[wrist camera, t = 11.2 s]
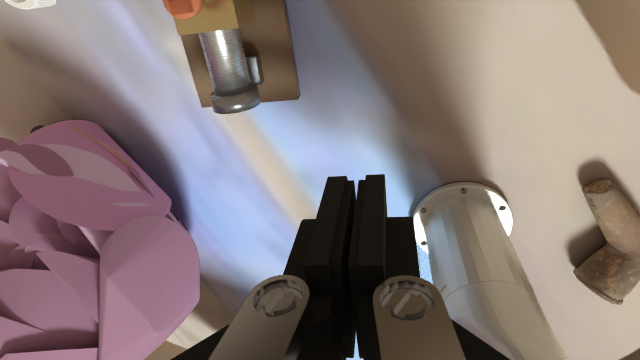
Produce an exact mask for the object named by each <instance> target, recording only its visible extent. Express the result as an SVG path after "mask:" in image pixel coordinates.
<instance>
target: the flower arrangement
mask: <svg viewBox="0 0 640 360" xmlns="http://www.w3.org/2000/svg"><path fill="white" fill-rule="evenodd" d="M171 204H172V201H171V199H170V198H169V197H168V195H167V194H166V193H165V192H164V191H163V190H162V189H161V188H160V187H159V186H158V185H157V184H156V183H155V182H154V181H153V180H152V179H151V178H150V177H149V176H148V175H147V174H146V173H145V172H144V171H143V170H142V169H141V168H140V167H139V166H138V165H137V164H136V163H135V162H134V161H133V160H132V159H131V158H130V157H129V156H128V155H127V154H126V153H125V152H124V151H123V149H122V148H121V147H120V146H119V145H118V144H117V143H116V142H115V141H114V140H113V139H112V138H111V137H110V136H109V135H108V134H107V133H106V132H105V131H104V130H103V129H102V128H101V127H100V126H99V125H98V124H97V123H95V122H91V121H87V120H67V121H61V122H57V123H53V124H50V125H47V126H36V127H34V128H33V129H32V130H31V134H29V135H28V136H26V137H25V138H24V139H23V140H21V141H20V143H18V144H16V143H15V142H13V141H11V140H9V139H6V138H1V137H0V360H144V359H145V358H146V357H147V356H148V355H149V354H150V353H152V352H153V351H154V350H155V349H156V348H157V347H158V346H160V345H161V344H162V343H163V342H164V341H165V340H166V339H167V338H168V337H169V336H170V335H171V334H172V333H173V332H174V331H175V330H176V329H177V328H178V326H179V325H180V324H181V323H182V322H183V321H184V320H185V319H186V318H187V317H188V315H189V314H190V313H191V312H192V310H193V309H194V308H195V306H196V305H197V303H198V302H199V299H200V261H199V255H198V251H197V248H196V245H195V243H194V241H193V239H192V237H191V235H190V234H189V233H188V232H187V231H186V230H185V227H184V225H183V223H182V222H181V221H180V220H179V219H178V220H176V218H175V217H174V215H173V214H172V213H171V211H170V208H171Z"/></svg>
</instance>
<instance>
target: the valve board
mask: <svg viewBox="0 0 640 360" xmlns="http://www.w3.org/2000/svg"><path fill="white" fill-rule="evenodd" d="M250 1H251V6H252V11H253V16H254V21H252V22H250V23H248V24H246V25H244V26H242V27H240V28H239V30H240V34H241V39H242V43H243V48H244V52H245V55H252V54H259V55H260V59H261V64H262V69H263V74H264V79H265V81H264V82H263V83H262V84H261V85H257V86H258V90H259V95H260V100H261V102H273V101H285V100H297V99H299V97H300V90H299V83H298V77H297V71H296V64H295V58H294V52H293V45H292V39H291V33H290V26H289V20H288V14H287V7H286V1H285V0H250ZM181 38H182V41H183V45H184V48H185V52H186V55H187V58H188V62H189V65H190V69H191V72H192V75H193V79H194V82H195V86H196V89H197V92H198V96H199V99H200V103H201V106H202V107H212V104H211V100H210V96H209V95H210V94H211V93H212V92H214V89H213V85H212V82H211V78H210V74H209V71H208V67H207V63H206V60H205V56H204V52H203V49H202V45H201V41H200V38H199V34H198V33H194V34H186V35H181Z"/></svg>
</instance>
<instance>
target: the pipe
mask: <svg viewBox="0 0 640 360" xmlns="http://www.w3.org/2000/svg"><path fill="white" fill-rule="evenodd" d="M582 190H583V193H584V195H585V197H586V199H587V202H588V204H589V206H590V208H591V211H592V213H593V215H594V217H595V219H596V221H597V223H598V225H599V227H600V229H601V231H602V233H603V235H604V236H605V238H606V240H607V243H606V244H605V245H604V246H603V247H602V248H600V249H599V250H598V251H596V252H595V253H594V254H592V255H591V256H590V257H589V258H588V259H587V260H586V261H584V262H583V263H582V264H581V265H580V266H579V267H578V268H575V269H574V271H573V272H574V274H575V275H576V277H577V279H578V280H579V281H581V282H582V283H583V284H584V285H585V286H586V287H587V288H589V289H590V290H591V291H593V292H594V293H595V294H597V295H598V296H600V297H601V298H603V299H604V300H606V301H608V302H610V303H612V304H618V305H620V304H622V303H623V298H624V297H625V296H626V295H627V294H629V292H630V291H631V290H632V289H633V288H634V287H635V286H636V284H637V283H638V282H639V280H640V216H639V215H638V214H637V213H636V211H635V209H634V208H633V207H632V206H631V204H630V203H629V201H628V200H627V199H626V197H625V196H624V195H623V193H622V192H621V191H620V190H619V188H618V187H617V186H616V184H615V183H614V182H613V181H612V180H610V179H600V180H597V181H595V182H593V183H590V184H589V185H587V186H585V187H582Z"/></svg>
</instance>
